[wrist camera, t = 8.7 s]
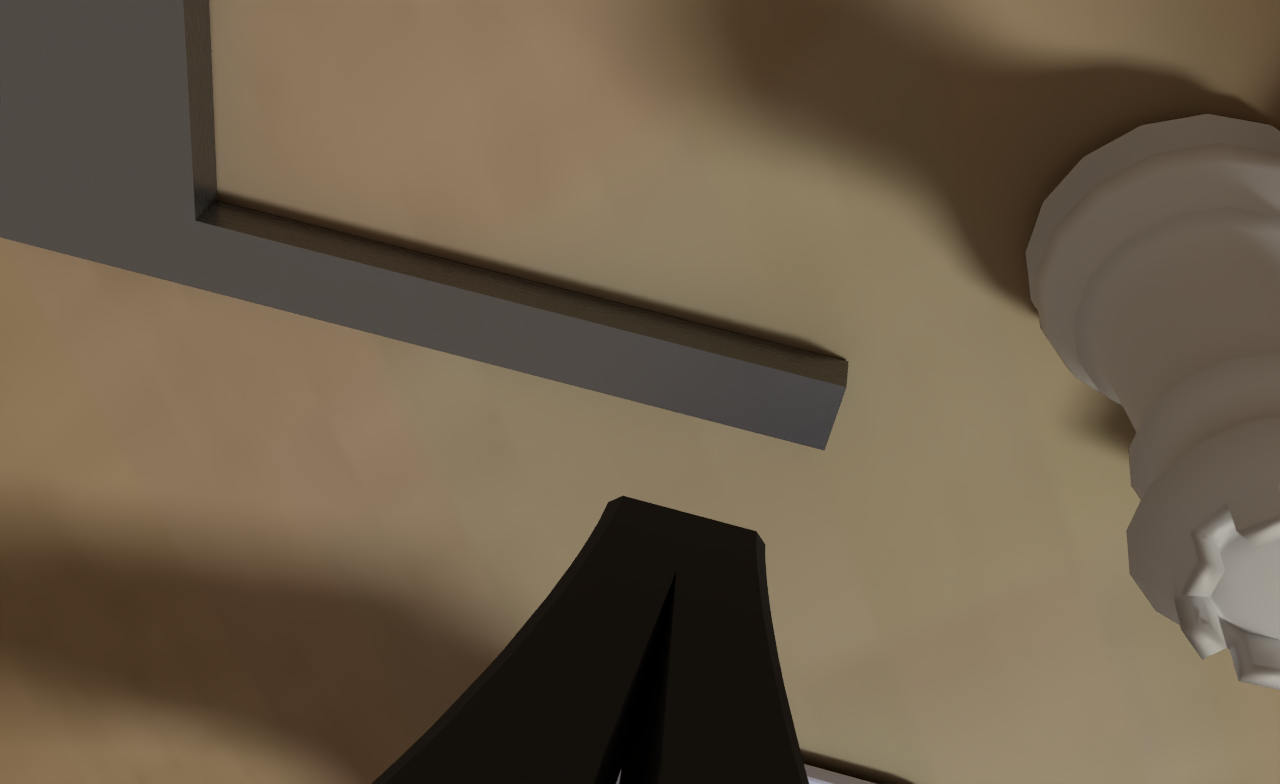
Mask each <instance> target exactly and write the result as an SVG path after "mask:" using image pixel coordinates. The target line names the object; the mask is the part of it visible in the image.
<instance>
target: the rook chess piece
mask: <svg viewBox="0 0 1280 784" xmlns="http://www.w3.org/2000/svg"><path fill="white" fill-rule="evenodd" d="M1026 261H1027V270H1028V278H1029V287H1030V295H1031V301H1032V303H1033V304H1034V306H1035V307H1036V309H1037V310H1038V312H1039V321H1040V328H1041V330H1042V331H1043V333H1044V334H1045V336H1046V337H1047V339H1048V340H1049V342H1050V343H1051V345H1052V346H1053V348H1054V349H1055V350H1056V352H1057V353H1058V355H1059V356H1060V358H1061V359H1062V361H1063V362H1064V364H1065V365H1066V367H1067V368H1068V369H1069V371H1070V372H1071V373H1072V374H1073V375H1074V376H1075V377H1076V378H1077V379H1079V380H1080V381H1082V382H1084V383H1085V384H1087V385H1089V386H1090V387H1092V388H1093V389H1095V390H1097V391H1098V392H1100V393H1102V394H1103V395H1105V396H1106V397H1108V398H1110V399H1111V400H1113V401H1114V402H1116V403H1118V404H1120V405H1122V406H1123V408H1124V410H1125V412H1126V413H1127V415H1128V417H1129V419H1130V421H1131V423H1132V425H1133V427H1134V429H1135V431H1136V434H1135V437H1134V439H1133V441H1132V443H1131V445H1130V447H1129V462H1130V476H1131V486H1132V487H1133V489H1134V490H1135V492H1136V493H1137V495H1138V496H1139V498H1140V499H1141V502H1140V504H1139V506H1138V508H1137V510H1136V512H1135V514H1134V516H1133V518H1132V520H1131V522H1130V524H1129V527H1128V529H1127V543H1128V556H1129V569H1130V575H1131V576H1132V578H1133V579H1134V581H1135V582H1136V583H1137V585H1138V586H1139V588H1140V589H1141V590H1142V592H1143V593H1144V595H1145V596H1146V598H1147V599H1148V600H1149V602H1150V603H1151V605H1152V606H1153V608H1154V609H1155V610H1156V611H1157V612H1159V613H1160V614H1162V615H1164V616H1165V617H1167V618H1169V619H1170V620H1172V621H1174V622H1176V623H1177V624H1179V625H1180V626H1181V630H1182V631H1183V633H1184V634H1185V636H1186V637H1187V638H1188V640H1189V641H1190V643H1191V644H1192V646H1193V647H1194V648H1195V650H1196V651H1197V653H1198V654H1199V656H1200V657H1201V658H1202V659H1204V658H1206V657H1208V656H1210V655H1213V654H1215V653H1217V652H1219V651H1221V650H1223V649H1225V648H1228V649H1230V653H1231V656H1232V659H1233V663H1234V666H1235V670H1236V673H1237V677H1238V680H1239V681H1241V682H1246V683H1250V684H1255V685H1260V686H1264V687H1269V688H1273V689H1278V690H1280V131H1279V130H1277V129H1276V128H1274V127H1273V126H1271V125H1268V124H1262V123H1257V122H1251V121H1245V120H1240V119H1234V118H1229V117H1223V116H1217V115H1212V114H1203V115H1197V116H1192V117H1186V118H1180V119H1175V120H1169V121H1163V122H1158V123H1152V124H1146V125H1141V126H1139V127H1137V128H1135V129H1134V130H1132V131H1130V132H1128V133H1126V134H1124V135H1123V136H1121V137H1119V138H1117V139H1115V140H1113V141H1112V142H1110V143H1108V144H1106V145H1104V146H1103V147H1101V148H1099V149H1097V150H1095V151H1093V152H1092V153H1090V154H1088V155H1086V156H1084V157H1083V158H1082V159H1081V160H1080V161H1079V162H1078V163H1077V165H1076V166H1075V167H1074V168H1073V169H1072V170H1071V171H1070V172H1069V174H1068V175H1067V176H1066V177H1065V178H1064V179H1063V180H1062V181H1061V183H1060V184H1059V185H1058V186H1057V187H1056V188H1055V189H1054V190H1053V192H1052V193H1051V194H1050V195H1049V196H1048V197H1047V198H1046V199H1045V201H1044V202H1043V204H1042V207H1041V210H1040V212H1039V215H1038V218H1037V221H1036V224H1035V227H1034V230H1033V232H1032V235H1031V238H1030V241H1029V244H1028V247H1027V250H1026Z"/></svg>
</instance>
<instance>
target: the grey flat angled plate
mask: <svg viewBox="0 0 1280 784" xmlns="http://www.w3.org/2000/svg"><path fill="white" fill-rule="evenodd" d="M0 237H2V238H5V239H9V240H13V241H17V242H21V243H25V244H29V245H33V246H36V247H40V248H44V249H48V250H52V251H56V252H60V253H63V254H67V255H71V256H75V257H79V258H83V259H87V260H90V261H94V262H98V263H102V264H106V265H110V266H114V267H118V268H121V269H125V270H129V271H133V272H137V273H141V274H145V275H148V276H152V277H156V278H160V279H164V280H168V281H172V282H175V283H179V284H183V285H187V286H191V287H195V288H199V289H203V290H206V291H210V292H214V293H218V294H222V295H226V296H230V297H233V298H237V299H241V300H245V301H249V302H253V303H257V304H261V305H264V306H268V307H272V308H276V309H280V310H284V311H288V312H291V313H295V314H299V315H303V316H307V317H311V318H315V319H318V320H322V321H326V322H330V323H334V324H338V325H342V326H346V327H349V328H353V329H357V330H361V331H365V332H369V333H373V334H376V335H380V336H384V337H388V338H392V339H396V340H400V341H404V342H407V343H411V344H415V345H419V346H423V347H427V348H431V349H434V350H438V351H442V352H446V353H450V354H454V355H458V356H461V357H465V358H469V359H473V360H477V361H481V362H485V363H489V364H492V365H496V366H500V367H504V368H508V369H512V370H516V371H519V372H523V373H527V374H531V375H535V376H539V377H543V378H547V379H550V380H554V381H558V382H562V383H566V384H570V385H574V386H577V387H581V388H585V389H589V390H593V391H597V392H601V393H604V394H608V395H612V396H616V397H620V398H624V399H628V400H632V401H635V402H639V403H643V404H647V405H651V406H655V407H659V408H662V409H666V410H670V411H674V412H678V413H682V414H686V415H690V416H693V417H697V418H701V419H705V420H709V421H713V422H717V423H720V424H724V425H728V426H732V427H736V428H740V429H744V430H747V431H751V432H755V433H759V434H763V435H767V436H771V437H775V438H778V439H782V440H786V441H790V442H794V443H798V444H802V445H805V446H809V447H813V448H817V449H821V450H825V447H826V444H827V441H828V438H829V436H830V433H831V430H832V427H833V424H834V421H835V418H836V415H837V413H838V410H839V407H840V404H841V401H842V398H843V395H844V392H845V389H846V385H847V373H848V362H847V361H844V360H840V359H836V358H832V357H828V356H824V355H820V354H816V353H812V352H808V351H804V350H800V349H796V348H792V347H788V346H785V345H781V344H777V343H773V342H769V341H765V340H761V339H757V338H753V337H749V336H745V335H741V334H737V333H733V332H730V331H726V330H722V329H718V328H714V327H710V326H706V325H702V324H698V323H694V322H690V321H686V320H682V319H678V318H675V317H671V316H667V315H663V314H659V313H655V312H651V311H647V310H643V309H639V308H635V307H631V306H627V305H623V304H620V303H616V302H612V301H608V300H604V299H600V298H596V297H592V296H588V295H584V294H580V293H576V292H572V291H568V290H565V289H561V288H557V287H553V286H549V285H545V284H541V283H537V282H533V281H529V280H525V279H521V278H517V277H513V276H510V275H506V274H502V273H498V272H494V271H490V270H486V269H482V268H478V267H474V266H470V265H466V264H462V263H458V262H454V261H451V260H447V259H443V258H439V257H435V256H431V255H427V254H423V253H419V252H415V251H411V250H407V249H403V248H399V247H396V246H392V245H388V244H384V243H380V242H376V241H372V240H368V239H364V238H360V237H356V236H352V235H348V234H344V233H341V232H337V231H333V230H329V229H325V228H321V227H317V226H313V225H309V224H305V223H301V222H297V221H293V220H289V219H286V218H282V217H278V216H274V215H270V214H266V213H262V212H258V211H254V210H250V209H246V208H242V207H238V206H234V205H231V204H227V203H223V202H219V201H217V180H216V156H215V133H214V109H213V86H212V62H211V38H210V15H209V0H0Z"/></svg>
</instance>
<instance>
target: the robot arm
mask: <svg viewBox="0 0 1280 784" xmlns="http://www.w3.org/2000/svg"><path fill="white" fill-rule="evenodd" d="M372 784H876V783H872V782H869V781H865V780H861V779H858V778H854V777H850V776H847V775H843V774H839V773H836V772H832V771H828V770H825V769H821V768H817V767H814V766H810V765H806V764H804V763H803V759H802V756H801V752H800V748H799V744H798V740H797V736H796V732H795V728H794V724H793V720H792V715H791V711H790V707H789V703H788V699H787V695H786V691H785V687H784V682H783V677H782V672H781V668H780V663H779V658H778V652H777V647H776V641H775V635H774V630H773V624H772V618H771V611H770V604H769V596H768V587H767V577H766V564H765V544H764V542H763V541H762V539H761V538H760V536H759V535H758V533H757V532H756V531H753V530H749V529H745V528H742V527H738V526H734V525H730V524H727V523H723V522H719V521H715V520H712V519H708V518H704V517H700V516H697V515H693V514H689V513H685V512H682V511H678V510H674V509H670V508H667V507H663V506H659V505H655V504H652V503H648V502H644V501H640V500H637V499H633V498H629V497H625V496H621V497H619V498H617V499H614V500H612V501H610V502H608V504H607V506H606V508H605V510H604V512H603V514H602V516H601V518H600V520H599V522H598V524H597V525H596V527H595V529H594V530H593V532H592V534H591V535H590V537H589V539H588V540H587V542H586V543H585V545H584V546H583V548H582V550H581V551H580V553H579V554H578V555H577V557H576V558H575V560H574V561H573V563H572V564H571V566H570V567H569V568H568V570H567V571H566V572H565V574H564V575H563V576H562V578H561V579H560V580H559V582H558V583H557V584H556V586H555V587H554V589H553V590H552V591H551V593H550V594H549V595H548V597H547V598H546V599H545V600H544V601H543V603H542V604H541V605H540V606H539V607H538V609H537V610H536V611H535V612H534V614H533V615H532V616H531V617H530V618H529V620H528V621H527V622H526V623H525V624H524V626H523V627H522V628H521V629H520V631H519V632H518V633H517V634H516V635H515V637H514V638H513V639H512V640H511V641H510V643H509V644H508V645H507V646H506V647H505V649H504V650H503V651H502V652H501V653H500V654H499V656H498V657H497V658H496V659H495V660H494V661H493V662H492V663H491V665H490V666H489V667H488V668H487V669H486V670H485V671H484V672H483V673H482V674H481V675H480V676H479V677H478V678H477V679H476V680H475V682H474V683H473V684H472V685H471V686H470V687H469V688H468V689H467V690H466V691H465V692H464V693H463V694H462V695H461V696H460V697H459V698H458V699H457V701H456V702H455V703H454V704H453V705H452V706H451V707H450V708H449V709H448V710H447V711H446V712H445V713H444V714H443V715H442V716H441V717H440V718H439V720H438V721H437V722H436V723H435V724H434V725H433V726H432V727H431V728H430V729H429V730H428V731H427V732H426V733H425V734H424V735H423V736H422V737H421V738H420V739H419V740H418V741H416V742H415V743H414V744H413V745H412V746H411V747H410V748H409V749H408V750H407V751H406V752H405V753H404V754H403V755H402V756H401V757H400V758H399V759H398V760H397V761H396V762H395V763H394V764H392V765H391V766H390V767H389V768H388V769H387V770H386V771H385V772H384V773H383V774H382V775H381V776H379V777H378V778H377V779H376V780H375V781H374V782H373V783H372Z"/></svg>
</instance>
